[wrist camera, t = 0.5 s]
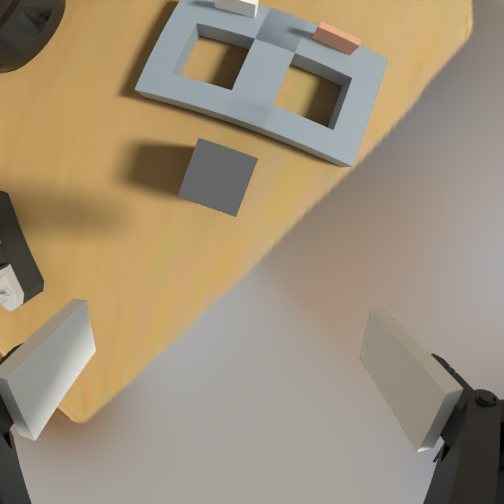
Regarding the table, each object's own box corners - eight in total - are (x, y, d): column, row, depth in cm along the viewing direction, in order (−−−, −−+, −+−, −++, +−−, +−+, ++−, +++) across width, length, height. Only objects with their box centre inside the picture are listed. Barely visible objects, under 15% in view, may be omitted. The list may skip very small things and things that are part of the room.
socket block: (145, 98, 31) (125, 81, 24) (191, 3, 28) (183, -26, 21) (340, 167, 34) (363, 165, 27) (374, 69, 31) (399, 51, 24)
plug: (194, 191, 34) (177, 196, 24) (209, 149, 33) (198, 137, 23) (236, 206, 35) (235, 217, 25) (252, 164, 34) (258, 158, 24)
